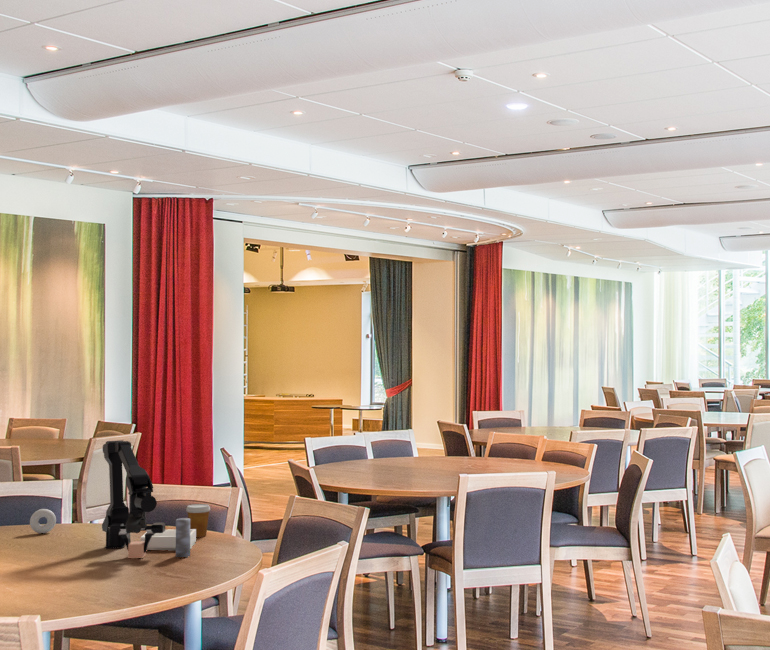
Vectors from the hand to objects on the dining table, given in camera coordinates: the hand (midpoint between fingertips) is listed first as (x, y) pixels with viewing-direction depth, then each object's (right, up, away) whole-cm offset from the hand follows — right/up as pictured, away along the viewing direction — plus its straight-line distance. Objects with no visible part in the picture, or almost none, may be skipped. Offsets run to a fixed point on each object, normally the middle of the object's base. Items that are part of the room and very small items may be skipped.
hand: (137, 552), depth 299 cm
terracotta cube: (0, -2, 0) cm, 2 cm away
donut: (-51, -4, +43) cm, 67 cm away
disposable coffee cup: (+13, -4, +37) cm, 39 cm away
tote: (+7, -2, +17) cm, 19 cm away
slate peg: (+16, -2, +1) cm, 16 cm away
